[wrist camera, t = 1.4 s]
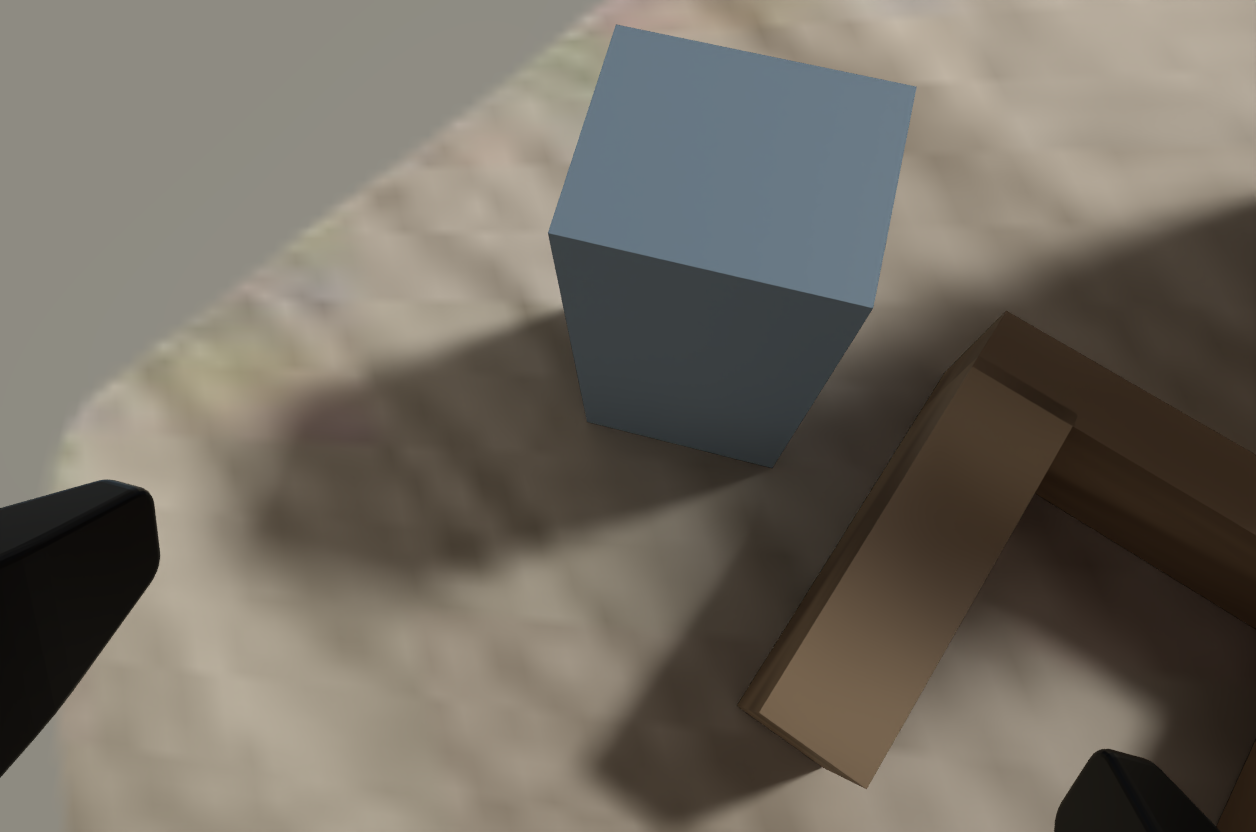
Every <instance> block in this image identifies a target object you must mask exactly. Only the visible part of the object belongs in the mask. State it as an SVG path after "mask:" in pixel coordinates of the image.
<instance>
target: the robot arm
mask: <svg viewBox="0 0 1256 832" xmlns="http://www.w3.org/2000/svg"><path fill="white" fill-rule="evenodd" d="M159 561H160V548H159V540H158V531H157V523H156V515H155V506H154V501H153V498H152V496H151V495H150V493H149V492H148V491H147V490H145V489H144V488H141V487H138V486H134V485H130V484H126V483H123V482H119V481H115V480H99V481H96V482H92V483H88V484H85V485H81V486H78V487H74V488H71V489H67V490H63V491H60V492H56V493H53V494H49V495H46V496H42V497H38V498H35V499H32V500H28V501H24V502H21V503H17V504H13V505H10V506H6V507H3V508H0V777H1V776H2V775H3V774H4V773H5V772H6V771H7V770H8V768H9V767H10V766H11V765H12V764H13V763H14V762H15V760H16V759H17V758H18V757H19V756H20V754H22V752H23V751H24V750H25V749H26V748H27V747H28V745H29V744H30V743H31V742H32V741H33V740H34V739H35V738H36V736H37V735H38V734H39V733H40V732H41V730H42V729H43V728H44V727H45V726H46V724H47V723H48V722H49V721H50V720H51V718H52V717H53V716H54V715H55V714H56V712H57V711H58V710H59V708H60V707H61V706H62V705H63V703H64V702H65V701H66V699H67V698H68V697H69V695H70V694H71V693H72V692H73V690H74V689H75V687H76V686H77V685H78V683H79V682H80V681H81V679H82V678H83V676H84V675H85V674H86V672H87V671H88V669H89V668H90V667H91V665H92V664H93V662H94V661H95V660H96V658H97V657H98V656H99V654H100V653H101V651H102V650H103V649H104V647H105V646H106V644H107V643H108V642H109V640H110V639H111V637H112V636H113V635H114V633H115V632H116V631H117V629H118V628H119V626H120V625H121V624H122V622H123V621H124V619H125V618H126V617H127V615H128V614H129V612H130V611H131V610H132V608H133V607H134V605H135V604H136V603H137V601H138V600H139V599H140V597H141V596H142V594H143V593H144V592H145V590H146V589H147V587H148V586H149V585H150V583H151V582H152V580H153V578H154V576H155V574H156V572H157V569H158V566H159ZM1054 832H1221V831H1220V830H1219V829H1218V828H1217V827H1216V826H1215V825H1214V824H1213V823H1212V822H1211V821H1210V820H1209V819H1208V818H1207V817H1206V816H1205V815H1204V814H1203V813H1202V812H1201V811H1200V810H1199V808H1198V807H1197V806H1196V805H1195V804H1194V803H1193V802H1192V801H1191V800H1190V799H1189V798H1188V797H1187V796H1186V795H1185V794H1184V793H1183V792H1182V791H1181V790H1180V789H1179V788H1178V787H1177V786H1176V785H1175V784H1174V783H1173V782H1172V781H1171V780H1170V779H1169V778H1168V777H1167V775H1166V774H1165V773H1164V772H1163V771H1162V770H1161V769H1160V768H1159V767H1157V766H1156V765H1155V764H1154V763H1152V762H1151V761H1149V760H1147V759H1144V758H1141V757H1137V756H1134V755H1130V754H1126V753H1122V752H1119V751H1115V750H1111V749H1101V750H1099V751H1097V752H1095V753H1094V754H1093V755H1092V756H1091V757H1090V759H1089V760H1088V762H1087V763H1086V765H1085V766H1084V768H1083V770H1082V771H1081V773H1080V774H1079V776H1078V777H1077V779H1076V780H1075V782H1074V784H1073V785H1072V787H1071V788H1070V790H1069V791H1068V793H1067V794H1066V796H1065V797H1064V799H1063V801H1062V802H1061V804H1060V806H1059V808H1058V811H1057V814H1056V819H1055V828H1054Z"/></svg>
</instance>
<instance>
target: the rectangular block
mask: <svg viewBox="0 0 1256 832" xmlns="http://www.w3.org/2000/svg"><path fill="white" fill-rule="evenodd" d="M915 92H916V87H915V86H911V85H906V84H901V83H896V82H891V81H886V80H882V79H877V78H872V77H867V76H862V75H857V74H853V73H848V72H843V71H838V70H833V69H828V68H824V67H819V66H814V65H809V64H804V63H799V62H795V61H790V60H785V59H780V58H775V57H771V56H766V55H761V54H756V53H751V52H746V51H742V50H737V49H732V48H727V47H722V46H717V45H713V44H708V43H703V42H698V41H693V40H688V39H684V38H679V37H674V36H669V35H664V34H659V33H655V32H650V31H645V30H640V29H635V28H631V27H626V26H621V25H616V26H615V29H614V32H613V35H612V38H611V42H610V45H609V48H608V51H607V54H606V57H605V60H604V63H603V66H602V69H601V72H600V75H599V78H598V81H597V84H596V87H595V91H594V94H593V97H592V100H591V103H590V106H589V109H588V112H587V115H586V118H585V121H584V124H583V127H582V130H581V133H580V137H579V140H578V143H577V146H576V149H575V152H574V155H573V158H572V161H571V164H570V167H569V170H568V173H567V176H566V179H565V183H564V186H563V189H562V192H561V195H560V198H559V201H558V204H557V207H556V210H555V213H554V216H553V219H552V222H551V225H550V228H549V232H548V235H549V240H550V245H551V250H552V255H553V259H554V264H555V269H556V274H557V279H558V284H559V288H560V293H561V298H562V303H563V308H564V313H565V317H566V322H567V327H568V332H569V337H570V342H571V346H572V351H573V356H574V361H575V366H576V371H577V376H578V380H579V385H580V390H581V395H582V400H583V405H584V409H585V414H586V419H587V422H590V423H594V424H598V425H602V426H606V427H610V428H614V429H618V430H622V431H626V432H630V433H634V434H638V435H642V436H646V437H650V438H654V439H658V440H662V441H666V442H670V443H674V444H678V445H682V446H686V447H690V448H694V449H698V450H702V451H706V452H710V453H714V454H718V455H722V456H726V457H730V458H734V459H738V460H742V461H746V462H750V463H754V464H758V465H762V466H766V467H770V468H773V466H774V464H775V463H776V461H777V460H778V458H779V457H780V455H781V453H782V452H783V450H784V449H785V447H786V445H787V444H788V442H789V441H790V439H791V438H792V436H793V434H794V433H795V431H796V430H797V428H798V426H799V425H800V423H801V422H802V420H803V418H804V417H805V415H806V414H807V412H808V411H809V409H810V407H811V406H812V404H813V403H814V401H815V399H816V398H817V396H818V395H819V393H820V392H821V390H822V388H823V387H824V385H825V384H826V382H827V380H828V379H829V377H830V376H831V374H832V372H833V371H834V369H835V368H836V366H837V365H838V363H839V361H840V360H841V358H842V357H843V355H844V353H845V352H846V350H847V349H848V347H849V346H850V344H851V342H852V341H853V339H854V338H855V336H856V334H857V333H858V331H859V330H860V328H861V327H862V325H863V323H864V322H865V320H866V319H867V317H868V315H869V314H870V312H871V311H872V309H873V306H874V301H875V296H876V291H877V286H878V281H879V275H880V270H881V265H882V260H883V255H884V250H885V245H886V240H887V235H888V230H889V224H890V219H891V214H892V209H893V204H894V199H895V194H896V189H897V184H898V179H899V173H900V168H901V163H902V158H903V153H904V148H905V143H906V138H907V133H908V128H909V122H910V117H911V112H912V107H913V102H914V97H915Z"/></svg>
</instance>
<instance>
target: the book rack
mask: <svg viewBox="0 0 1256 832" xmlns="http://www.w3.org/2000/svg"><path fill="white" fill-rule="evenodd" d="M1035 493H1036V494H1037V495H1039V496H1041V497H1042V498H1044V499H1045V500H1047V501H1049V502H1050V503H1052V504H1054V505H1055V506H1057V507H1058V508H1060V509H1062V510H1063V511H1065V512H1066V513H1068V514H1070V515H1071V516H1073V517H1075V518H1076V519H1078V520H1079V521H1081V522H1083V523H1084V524H1086V525H1088V526H1089V527H1091V528H1092V529H1094V530H1096V531H1097V532H1099V533H1101V534H1102V535H1104V536H1105V537H1107V538H1109V539H1110V540H1112V541H1114V542H1115V543H1117V544H1118V545H1120V546H1122V547H1123V548H1125V549H1127V550H1128V551H1130V552H1131V553H1133V554H1135V555H1136V556H1138V557H1140V558H1141V559H1143V560H1144V561H1146V562H1148V563H1149V564H1151V565H1153V566H1154V567H1156V568H1157V569H1159V570H1161V571H1162V572H1164V573H1166V574H1167V575H1169V576H1170V577H1172V578H1174V579H1175V580H1177V581H1179V582H1180V583H1182V584H1183V585H1185V586H1187V587H1188V588H1190V589H1191V590H1193V591H1195V592H1196V593H1198V594H1200V595H1201V596H1203V597H1204V598H1206V599H1208V600H1209V601H1211V602H1213V603H1214V604H1216V605H1217V606H1219V607H1221V608H1222V609H1224V610H1226V611H1227V612H1229V613H1230V614H1232V615H1234V616H1235V617H1237V618H1239V619H1240V620H1242V621H1243V622H1245V623H1247V624H1248V625H1250V626H1252V627H1253V628H1255V629H1256V455H1255V454H1253V453H1252V452H1250V451H1248V450H1247V449H1245V448H1243V447H1241V446H1240V445H1238V444H1236V443H1234V442H1233V441H1231V440H1229V439H1227V438H1226V437H1224V436H1222V435H1221V434H1219V433H1217V432H1215V431H1214V430H1212V429H1210V428H1208V427H1207V426H1205V425H1203V424H1202V423H1200V422H1198V421H1196V420H1195V419H1193V418H1191V417H1189V416H1188V415H1186V414H1184V413H1182V412H1181V411H1179V410H1177V409H1176V408H1174V407H1172V406H1170V405H1169V404H1167V403H1165V402H1163V401H1162V400H1160V399H1158V398H1157V397H1155V396H1153V395H1151V394H1150V393H1148V392H1146V391H1144V390H1143V389H1141V388H1139V387H1137V386H1136V385H1134V384H1132V383H1131V382H1129V381H1127V380H1125V379H1124V378H1122V377H1120V376H1118V375H1117V374H1115V373H1113V372H1111V371H1110V370H1108V369H1106V368H1105V367H1103V366H1101V365H1099V364H1098V363H1096V362H1094V361H1092V360H1091V359H1089V358H1087V357H1086V356H1084V355H1082V354H1080V353H1079V352H1077V351H1075V350H1073V349H1072V348H1070V347H1068V346H1066V345H1065V344H1063V343H1061V342H1060V341H1058V340H1056V339H1054V338H1053V337H1051V336H1049V335H1047V334H1046V333H1044V332H1042V331H1040V330H1039V329H1037V328H1035V327H1034V326H1032V325H1030V324H1028V323H1027V322H1025V321H1023V320H1021V319H1020V318H1018V317H1016V316H1015V315H1013V314H1011V313H1009V312H1008V311H1006V312H1005V313H1004V314H1003V315H1002V316H1001V317H1000V318H999V319H998V320H997V321H996V322H995V323H994V324H993V325H992V326H991V327H990V328H989V329H988V330H987V331H986V332H985V333H984V334H983V335H982V336H981V337H980V338H979V339H978V340H977V341H976V342H975V343H974V344H973V345H972V346H971V347H970V348H969V349H968V350H967V351H966V352H965V353H964V354H963V355H962V356H961V357H960V358H959V359H958V360H957V361H956V362H955V363H954V364H953V365H952V366H951V367H950V368H949V369H948V370H947V371H946V372H945V373H944V375H943V376H942V378H941V379H940V381H939V383H938V384H937V386H936V387H935V389H934V391H933V392H932V394H931V395H930V397H929V399H928V400H927V402H926V403H925V405H924V407H923V408H922V410H921V412H920V413H919V415H918V416H917V418H916V420H915V421H914V423H913V424H912V426H911V428H910V429H909V431H908V432H907V434H906V436H905V437H904V439H903V440H902V442H901V444H900V445H899V447H898V448H897V450H896V452H895V453H894V455H893V456H892V458H891V460H890V461H889V463H888V464H887V466H886V468H885V469H884V471H883V472H882V474H881V476H880V477H879V479H878V480H877V482H876V484H875V485H874V487H873V488H872V490H871V492H870V493H869V495H868V496H867V498H866V500H865V501H864V503H863V504H862V506H861V508H860V509H859V511H858V512H857V514H856V516H855V517H854V519H853V520H852V522H851V524H850V525H849V527H848V528H847V530H846V532H845V533H844V535H843V537H842V538H841V540H840V541H839V543H838V545H837V546H836V548H835V549H834V551H833V553H832V554H831V556H830V557H829V559H828V561H827V562H826V564H825V565H824V567H823V569H822V570H821V572H820V573H819V575H818V577H817V578H816V580H815V581H814V583H813V585H812V586H811V588H810V589H809V591H808V593H807V594H806V596H805V597H804V599H803V601H802V602H801V604H800V605H799V607H798V609H797V610H796V612H795V613H794V615H793V617H792V618H791V620H790V621H789V623H788V625H787V626H786V628H785V629H784V631H783V633H782V634H781V636H780V637H779V639H778V641H777V642H776V644H775V645H774V647H773V649H772V650H771V652H770V653H769V655H768V657H767V658H766V660H765V662H764V663H763V665H762V666H761V668H760V670H759V671H758V673H757V674H756V676H755V678H754V679H753V681H752V682H751V684H750V686H749V687H748V689H747V690H746V692H745V694H744V695H743V697H742V698H741V700H740V702H739V703H738V705H737V706H738V707H739V708H740V709H742V710H743V711H745V712H746V713H747V714H749V715H750V716H752V717H753V718H754V719H756V720H757V721H759V722H760V723H761V724H763V725H764V726H766V727H767V728H768V729H770V730H771V731H773V732H774V733H775V734H777V735H778V736H780V737H781V738H782V739H784V740H785V741H787V742H788V743H789V744H791V745H792V746H794V747H795V748H796V749H798V750H799V751H801V752H802V753H803V754H805V755H806V756H808V757H809V758H810V759H812V760H813V761H815V762H816V763H817V764H819V765H820V766H822V767H823V768H825V769H827V770H829V771H831V772H833V773H835V774H837V775H839V776H841V777H843V778H845V779H847V780H849V781H851V782H853V783H855V784H857V785H859V786H861V787H863V788H865V789H867V788H868V786H869V784H870V782H871V781H872V779H873V777H874V775H875V774H876V772H877V770H878V768H879V767H880V765H881V763H882V761H883V759H884V758H885V756H886V754H887V752H888V751H889V749H890V747H891V745H892V744H893V742H894V740H895V738H896V737H897V735H898V733H899V731H900V730H901V728H902V726H903V724H904V722H905V721H906V719H907V717H908V715H909V714H910V712H911V710H912V708H913V707H914V705H915V703H916V701H917V700H918V698H919V696H920V694H921V693H922V691H923V689H924V687H925V685H926V684H927V682H928V680H929V678H930V677H931V675H932V673H933V671H934V670H935V668H936V666H937V664H938V663H939V661H940V659H941V657H942V656H943V654H944V652H945V650H946V649H947V647H948V645H949V643H950V641H951V640H952V638H953V636H954V634H955V633H956V631H957V629H958V627H959V626H960V624H961V622H962V620H963V619H964V617H965V615H966V613H967V612H968V610H969V608H970V606H971V604H972V603H973V601H974V599H975V597H976V596H977V594H978V592H979V590H980V589H981V587H982V585H983V583H984V582H985V580H986V578H987V576H988V575H989V573H990V571H991V569H992V567H993V566H994V564H995V562H996V560H997V559H998V557H999V555H1000V553H1001V552H1002V550H1003V548H1004V546H1005V545H1006V543H1007V541H1008V539H1009V538H1010V536H1011V534H1012V532H1013V531H1014V529H1015V527H1016V525H1017V523H1018V522H1019V520H1020V518H1021V516H1022V515H1023V513H1024V511H1025V509H1026V508H1027V506H1028V504H1029V502H1030V501H1031V499H1032V497H1033V495H1034V494H1035ZM1217 828H1218V829H1219V830H1220V831H1221V832H1256V741H1255V743H1254V745H1253V747H1252V750H1251V752H1250V754H1249V756H1248V758H1247V761H1246V763H1245V765H1244V767H1243V769H1242V772H1241V774H1240V776H1239V778H1238V780H1237V783H1236V785H1235V787H1234V789H1233V791H1232V794H1231V796H1230V798H1229V800H1228V802H1227V805H1226V807H1225V809H1224V811H1223V813H1222V816H1221V818H1220V820H1219V822H1218V824H1217Z"/></svg>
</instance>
